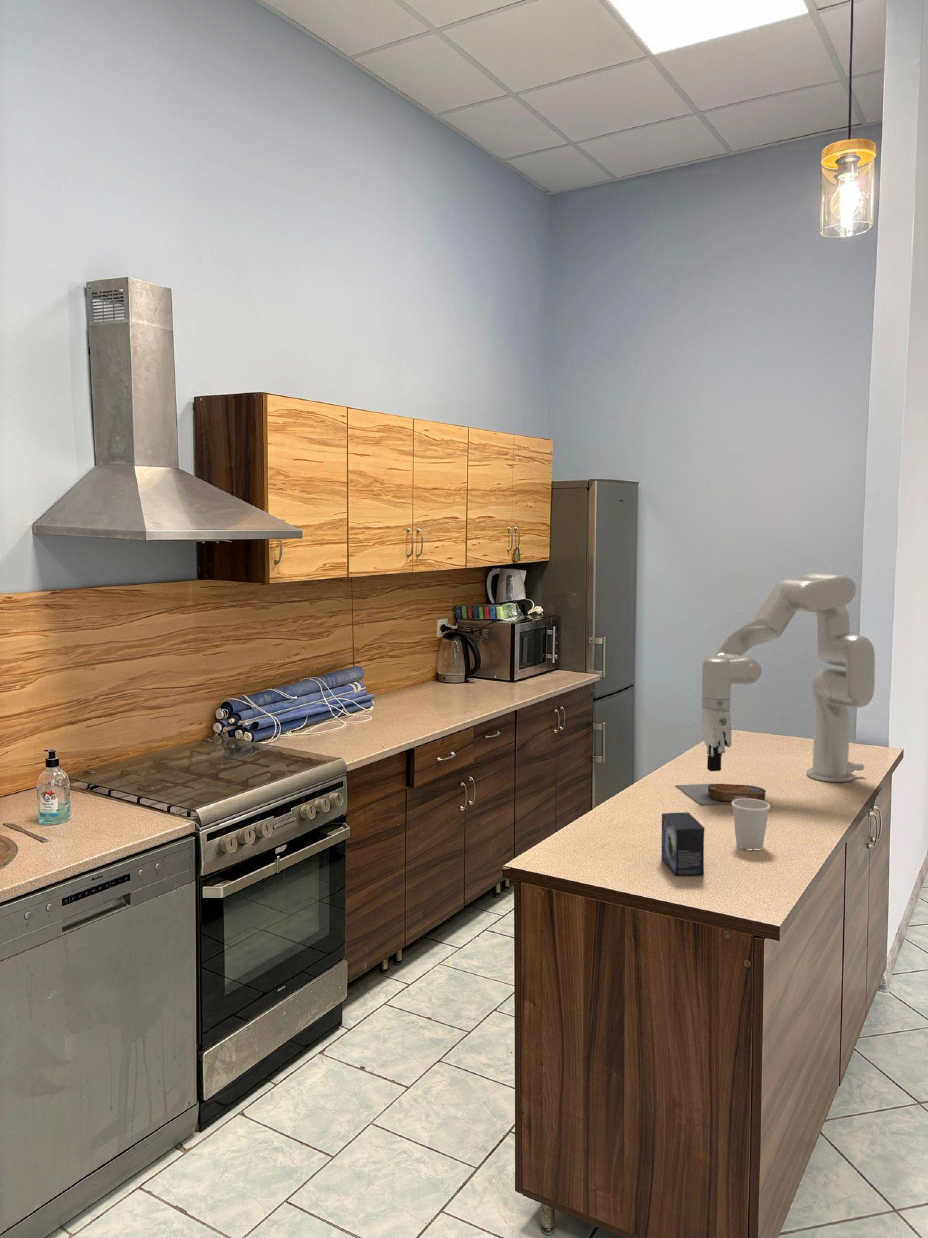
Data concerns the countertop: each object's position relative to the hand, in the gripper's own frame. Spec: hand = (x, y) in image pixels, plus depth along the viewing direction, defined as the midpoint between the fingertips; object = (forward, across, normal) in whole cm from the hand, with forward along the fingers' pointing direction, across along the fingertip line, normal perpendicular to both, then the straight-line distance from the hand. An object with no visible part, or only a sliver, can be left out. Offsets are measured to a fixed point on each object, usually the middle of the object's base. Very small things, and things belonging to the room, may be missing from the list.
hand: (714, 770), depth 245 cm
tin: (+5, -1, -5) cm, 7 cm away
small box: (+7, -50, +28) cm, 58 cm away
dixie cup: (+7, -40, +8) cm, 41 cm away
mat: (+7, 0, +2) cm, 7 cm away
